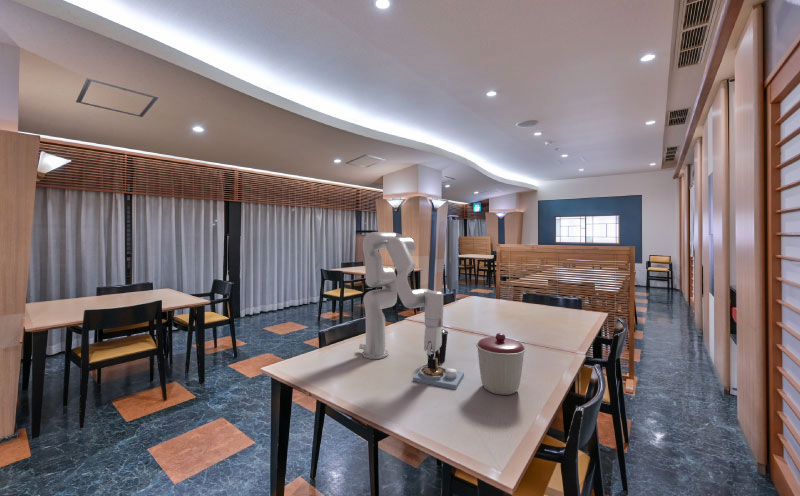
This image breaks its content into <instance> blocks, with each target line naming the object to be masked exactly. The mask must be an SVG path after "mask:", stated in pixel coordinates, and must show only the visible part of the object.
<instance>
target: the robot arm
mask: <svg viewBox="0 0 800 496" xmlns="http://www.w3.org/2000/svg"><path fill="white" fill-rule="evenodd" d="M379 250H382V251H383V250H387V252H388V254H389V257H390V259H391V260H392V263H393V265H394V268H395V270H396V271H395V270H394V269H393V268H392V267H389V266H384V265H383V264H384V263H383V258H382V255H381V253H380V252H379ZM416 250H417V246H416V243H415V241H414V239H413V238H412V237H410V236H406V235H403V234H400V233H397V232H393V231H390V232H389V231H372V232H369V233H368V234H366V235H365V236H364V238H363V241H362V251H363V256H364V267H365V268H364V269H365V270H364V271H365V282H366V283H365V284H366V286H368V287H369V288H380V287H382V288H380V289H373V290H369V291H368V292H366V293H365V294H364V295H363V301H362V302H363V307H364V312H365V314H364V315H365V344H364V343H359V347H358V348H359V350H363V352H362V356H363V358H365V359H370V360H380V359H384V358H387V357H388V356H389V351H388V350H387V349H386V317H385V314H384V312H383V309H387V308H392V307H394V306H395V305H396V304H397V301H398V297H399V299H400V301H401V303H402V304H403V306H404V307H405V308H406V309H411V310H412V309H417V308H421V307H424V326H425V328H424V335H423V337H424V340H423V341H424V342H423V351H424V352H426V356H427V366H428V368H430V369H436V359H435V357H437V358H438V366H440V364H441V363H440V355H438V354H440V350H439V349H440V347H441V345H442V329H443V328H442V327H444V293H443V292H441V291H439V290H431V289H429V288H424V287H423V288H418V289H417V288H416V289H412V288H411V285H410V284H409V281H408V276H409V274H410V273H411V272H412V271H413V270H415V268H416V263H415V261H414V259H413V257H412V255H413V254H414V253H415V252H416ZM396 272H397V274H396Z"/></svg>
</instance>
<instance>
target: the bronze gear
mask: <svg viewBox="0 0 800 496" xmlns="http://www.w3.org/2000/svg"><path fill="white" fill-rule="evenodd" d="M435 359H436V369H430V368H428V367H426V368H424V374H426V375H429V376H440V377H441V376H443V375H444V370H443V369H442V368H438V366H439V365H438V358H437V357H435Z"/></svg>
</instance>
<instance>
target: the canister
mask: <svg viewBox="0 0 800 496" xmlns="http://www.w3.org/2000/svg"><path fill="white" fill-rule="evenodd" d="M475 347H476V348H477V356H478V365H479V366H478V367H479V374H480V380H481V384H482V386H483V388H484V389H485V390H486V391H488V392H489V393H492V394H495V395H499V396H501V395H502V396H504V395H505V396H506V395H507V396H508V395H513V394H515V393H516V392H517V391H519V388H520V385H521V379H522V373H523V363H524V356H525V353H526V351H527V347H526V346H525V345H524V344H522V343H521V342H520V341H518V340H516V339H512V338H510V337H509V338H508V337H506V335H505V334H504V333H501V332H498V333H496V334H495V336H488V337H487V336H486V337H483V338H481V339H480V340H477V341H476V343H475Z"/></svg>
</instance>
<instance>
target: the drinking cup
mask: <svg viewBox="0 0 800 496" xmlns="http://www.w3.org/2000/svg"><path fill="white" fill-rule="evenodd" d="M448 334H449V331H448V330H445V329H443V328H442V345H441V347H440V349H439V350H440V354H438V355H440V364H442V363H445V362H446V353H447V342H448Z"/></svg>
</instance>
